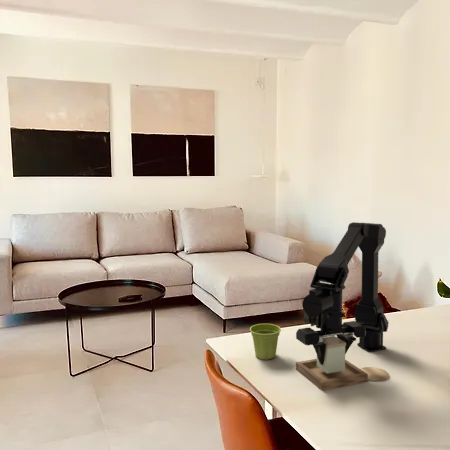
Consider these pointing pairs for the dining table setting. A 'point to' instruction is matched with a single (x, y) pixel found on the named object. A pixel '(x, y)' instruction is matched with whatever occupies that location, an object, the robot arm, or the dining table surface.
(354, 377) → the walnut tray
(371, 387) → the dining table surface
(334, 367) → the sage canister
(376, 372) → the cork coaster
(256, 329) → the plant pot
